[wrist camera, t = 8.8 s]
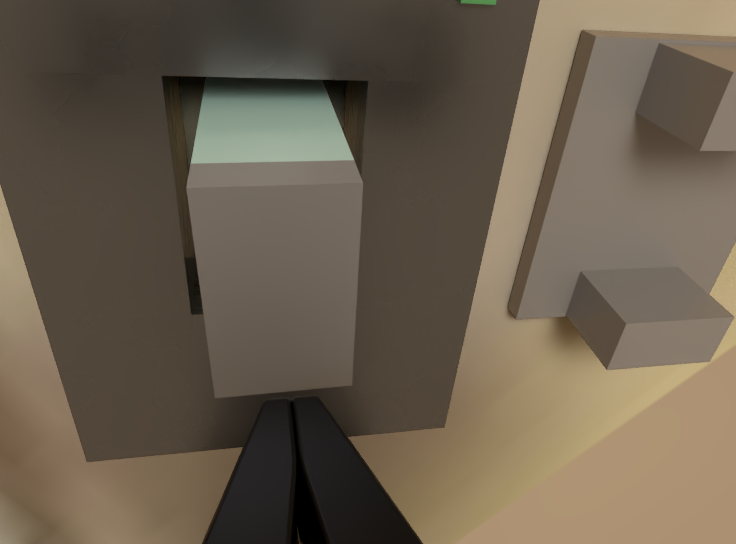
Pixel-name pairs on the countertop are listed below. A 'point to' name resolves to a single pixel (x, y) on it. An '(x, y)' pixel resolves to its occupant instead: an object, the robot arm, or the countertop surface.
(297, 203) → the plug
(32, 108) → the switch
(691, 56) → the holster
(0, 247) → the countertop surface
